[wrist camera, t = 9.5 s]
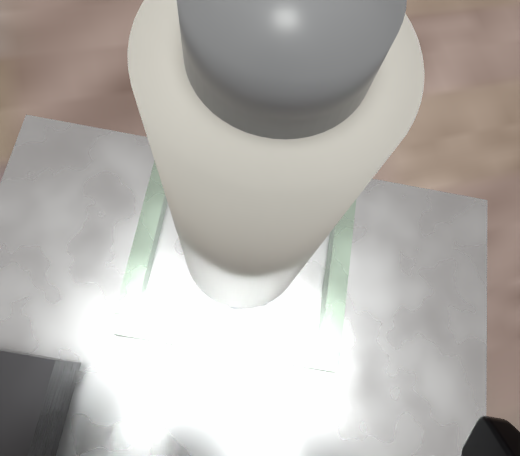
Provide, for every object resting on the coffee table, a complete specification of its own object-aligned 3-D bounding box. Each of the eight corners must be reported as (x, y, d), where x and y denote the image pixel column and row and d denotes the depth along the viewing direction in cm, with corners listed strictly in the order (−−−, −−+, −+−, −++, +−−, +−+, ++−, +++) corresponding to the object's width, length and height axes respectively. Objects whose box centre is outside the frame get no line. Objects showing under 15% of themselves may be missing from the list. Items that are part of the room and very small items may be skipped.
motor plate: (452, 587, 19) (540, 667, 14) (-81, 501, 18) (-201, 550, 13) (461, 217, 24) (527, 173, 19) (45, 140, 24) (-5, 74, 18)
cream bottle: (315, 288, 20) (531, 94, 6) (203, 323, 19) (157, 190, 5) (279, 185, 21) (388, -167, 7) (172, 214, 20) (71, -123, 7)
